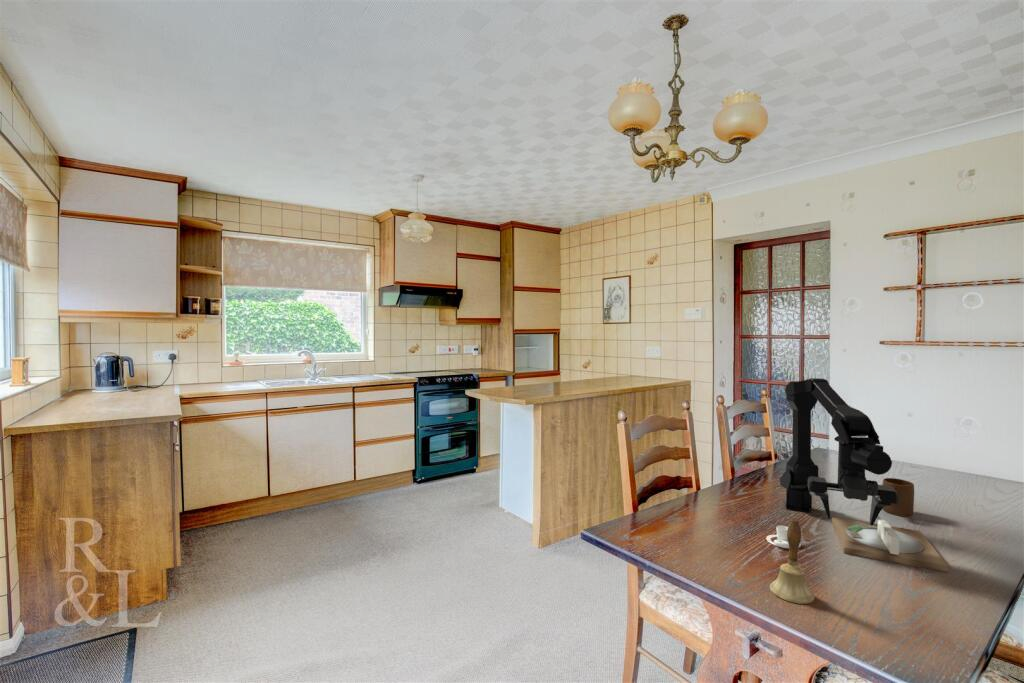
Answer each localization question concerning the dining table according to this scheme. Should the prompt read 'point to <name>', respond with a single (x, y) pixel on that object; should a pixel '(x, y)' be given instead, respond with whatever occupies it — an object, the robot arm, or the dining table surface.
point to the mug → (901, 497)
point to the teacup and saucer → (780, 537)
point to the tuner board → (867, 544)
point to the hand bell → (792, 572)
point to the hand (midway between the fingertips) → (849, 521)
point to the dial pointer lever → (888, 536)
